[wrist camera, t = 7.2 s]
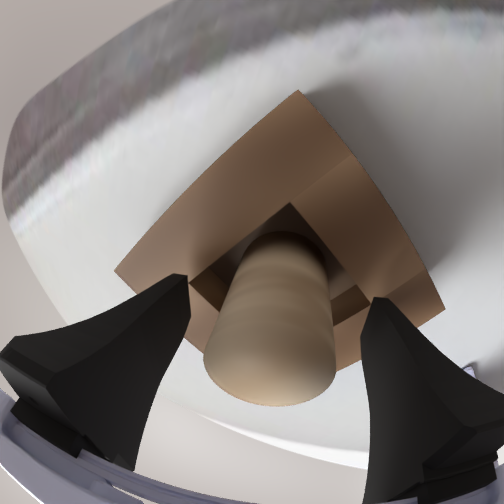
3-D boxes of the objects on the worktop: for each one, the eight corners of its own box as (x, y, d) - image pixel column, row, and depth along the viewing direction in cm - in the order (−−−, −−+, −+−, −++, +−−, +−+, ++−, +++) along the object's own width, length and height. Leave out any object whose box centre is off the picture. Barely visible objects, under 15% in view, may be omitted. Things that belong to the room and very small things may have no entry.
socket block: (425, 275, 13) (445, 309, 11) (271, 364, 18) (265, 400, 15) (298, 96, 11) (298, 89, 8) (142, 244, 15) (113, 270, 12)
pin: (342, 277, 13) (360, 378, 8) (277, 317, 15) (261, 416, 9) (289, 213, 12) (278, 295, 7) (223, 264, 14) (178, 355, 8)
